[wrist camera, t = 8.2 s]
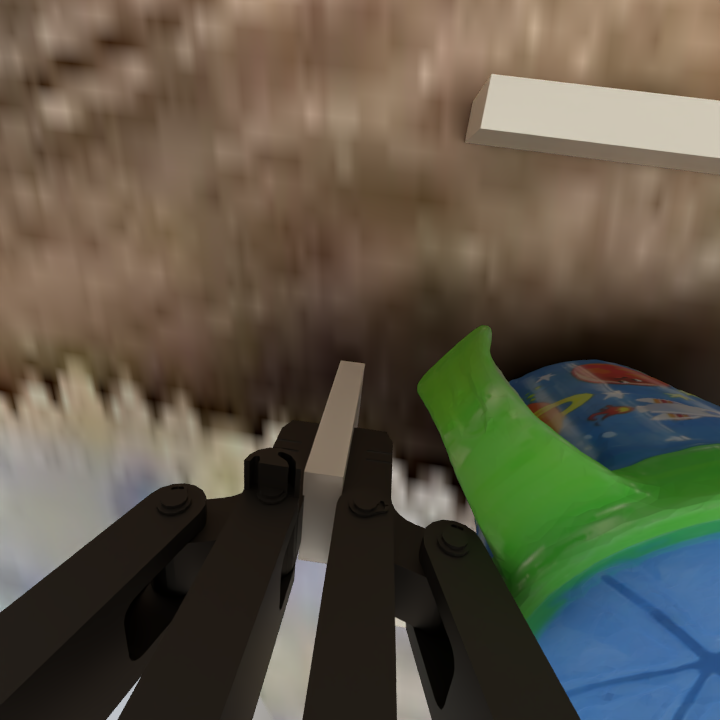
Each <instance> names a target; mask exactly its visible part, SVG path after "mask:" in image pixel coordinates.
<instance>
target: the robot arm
mask: <svg viewBox="0 0 720 720" xmlns="http://www.w3.org/2000/svg"><path fill="white" fill-rule="evenodd" d="M364 368H365V364H364V363H356V362H349V361H340V364H339V367H338V370H337V373H336V376H335V379H334V382H333V385H332V389H331V392H330V395H329V398H328V401H327V404H326V407H325V410H324V413H323V416H322V419H321V422H320V424H317V423H310V422H302V421H295V420H292V421H291V422H290V423H288V424H287V425H286V426H284V427H283V428H282V429H281V431H280V433H279V436H278V438H277V440H276V442H275V444H274V446H273V448H266V449H261V450H258V451H256V452H254V453H251V454H250V455H249V456H248V457H247V458H246V459H245V460H244V491H243V492H242V493H241V494H238V495H235V496H232V497H226V498H217V499H206V496H205V494H204V492H203V490H201V489H200V488H198V487H197V486H195V485H190V484H185V483H184V484H172V485H169V486H165V487H162V488H160V489H158V490H156V491H155V492H153V493H151V494H150V495H149V496H147V497H146V498H145V499H144V500H142V501H141V502H140V503H139V504H137V505H136V506H135V507H133V508H132V509H131V510H130V511H128V512H127V513H126V514H125V515H123V516H122V517H121V518H120V519H118V520H117V521H116V522H114V523H113V524H112V525H111V526H109V527H108V528H107V529H106V530H104V531H103V532H102V533H101V534H99V535H98V536H97V537H95V538H94V539H93V540H92V541H90V542H89V543H88V544H87V545H85V546H84V547H83V548H82V549H80V550H79V551H78V552H76V553H75V554H74V555H73V556H71V557H70V558H69V559H68V560H66V561H65V562H64V563H63V564H61V565H60V566H59V567H58V568H56V569H55V570H54V571H52V572H51V573H50V574H49V575H47V576H46V577H45V578H44V579H42V580H41V581H40V582H39V583H37V584H36V585H35V586H33V587H32V588H31V589H30V590H28V591H27V592H26V593H25V594H23V595H22V596H21V597H20V598H18V599H17V600H16V601H14V602H13V603H12V604H11V605H9V606H8V607H7V608H6V609H4V610H3V611H2V612H1V613H0V720H106V719H107V718H108V717H109V715H110V714H111V713H112V711H113V710H114V709H115V708H116V707H117V706H118V704H119V703H120V702H121V700H122V699H123V698H124V697H125V696H126V694H127V693H128V692H129V691H130V689H131V688H132V687H133V686H134V684H135V683H136V682H137V681H138V679H139V678H140V677H141V678H140V680H139V682H138V684H137V685H136V687H135V689H134V691H133V693H132V695H131V696H130V698H129V700H128V702H127V704H126V706H125V708H124V709H123V711H122V713H121V715H120V716H119V719H118V720H252V718H253V715H254V712H255V709H256V705H257V702H258V699H259V695H260V692H261V689H262V685H263V682H264V679H265V675H266V672H267V669H268V665H269V662H270V659H271V655H272V652H273V648H274V645H275V642H276V638H277V635H278V632H279V628H280V625H281V622H282V618H283V615H284V612H285V608H286V605H287V602H288V598H289V595H290V592H291V588H292V585H293V582H294V575H295V562H296V558H297V555H298V551H299V556H298V559H299V560H305V561H312V562H319V563H325V564H327V568H326V574H325V581H324V587H323V593H322V600H321V606H320V612H319V619H318V625H317V631H316V638H315V644H314V651H313V657H312V663H311V670H310V676H309V682H308V689H307V695H306V701H305V708H304V714H303V720H397V703H396V644H395V617H396V618H398V619H400V620H402V621H404V622H405V623H406V630H407V634H408V637H409V641H410V644H411V648H412V651H413V655H414V658H415V662H416V665H417V669H418V672H419V676H420V679H421V683H422V686H423V690H424V693H425V697H426V700H427V704H428V707H429V711H430V715H431V718H432V720H581V719H580V717H579V715H578V714H577V712H576V710H575V708H574V706H573V705H572V703H571V701H570V699H569V697H568V696H567V694H566V692H565V690H564V688H563V687H562V685H561V683H560V681H559V679H558V677H557V676H556V674H555V672H554V670H553V668H552V667H551V665H550V663H549V661H548V659H547V658H546V656H545V654H544V652H543V650H542V649H541V647H540V645H539V643H538V641H537V640H536V638H535V636H534V634H533V632H532V631H531V629H530V627H529V625H528V623H527V621H526V620H525V618H524V616H523V614H522V612H521V611H520V609H519V607H518V605H517V603H516V602H515V600H514V598H513V596H512V594H511V593H510V591H509V589H508V587H507V585H506V584H505V582H504V580H503V578H502V576H501V575H500V573H499V571H498V569H497V567H496V565H495V564H494V562H493V560H492V558H491V556H490V555H489V553H488V551H487V549H486V547H485V546H484V544H483V542H482V540H481V539H480V538H479V537H478V535H477V534H476V533H475V532H474V531H473V530H471V529H470V528H468V527H467V526H466V525H463V524H461V523H458V522H455V521H449V520H440V521H436V522H432V523H431V524H430V525H429V526H427V527H426V529H425V528H423V527H420V526H418V525H415V524H413V523H411V522H409V521H407V520H406V519H404V518H403V517H402V516H400V515H399V514H398V512H397V511H396V510H395V509H394V506H393V504H392V500H391V482H392V447H393V442H392V440H391V439H390V437H389V436H388V434H387V432H383V431H376V430H369V429H362V428H357V426H358V418H359V410H360V402H361V393H362V385H363V377H364Z"/></svg>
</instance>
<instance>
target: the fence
mask: <svg viewBox="0 0 720 720" xmlns="http://www.w3.org/2000/svg"><path fill="white" fill-rule="evenodd" d="M465 143H471V144H479V145H487V146H495V147H503V148H511V149H519V150H526V151H534V152H542V153H550V154H558V155H566V156H574V157H582V158H590V159H597V160H605V161H613V162H621V163H629V164H637V165H645V166H653V167H661V168H668V169H676V170H684V171H692V172H700V173H708V174H716V175H720V101H717V100H709V99H700V98H692V97H683V96H675V95H666V94H658V93H649V92H641V91H632V90H624V89H615V88H607V87H598V86H590V85H581V84H573V83H564V82H556V81H547V80H538V79H530V78H521V77H513V76H504V75H496V74H491V76H490V77H489V78H488V80H487V81H486V83H485V84H484V86H483V87H482V89H481V90H480V92H479V93H478V94H477V96H476V97H475V99H474V100H473V102H472V108H471V113H470V118H469V123H468V128H467V133H466V139H465ZM395 626H399V627H404V628H406V623H405V622H404V621H402V620H400V619H398V618H396V617H395Z"/></svg>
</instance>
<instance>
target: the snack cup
mask: <svg viewBox="0 0 720 720" xmlns="http://www.w3.org/2000/svg"><path fill="white" fill-rule="evenodd" d="M491 341H492V331H491V328H490V327H489V326H485V325H481V326H479V327H478V328H476V329H475V330H473V331H472V332H471V333H469V334H468V335H467V336H466V337H464V338H463V339H462V340H461V341H459V342H458V343H457V344H456V345H455V346H454V347H453V348H452V349H451V350H450V351H449V352H448V353H446V354H445V355H444V356H443V357H442V358H441V359H440V360H439V361H438V362H437V363H436V364H435V365H434V366H433V367H431V368H430V369H429V370H428V371H427V372H426V374H425V375H424V376H423V377H422V378H421V380H420V381H419V383H418V385H417V393H418V394H419V396H420V397H421V399H422V400H423V402H424V404H425V406H426V407H427V409H428V411H429V413H430V415H431V417H432V419H433V421H434V423H435V425H436V427H437V429H438V430H439V432H440V435H441V438H442V441H443V443H444V445H445V448H446V450H447V452H448V455H449V459H450V462H451V464H452V466H453V468H454V471H455V474H456V477H457V479H458V481H459V483H460V485H461V488H462V490H463V492H464V494H465V497H466V499H467V501H468V503H469V505H470V507H471V509H472V512H473V514H474V517H475V524H476V534H477V535H478V537H479V538H480V539H481V540H482V542H483V544H484V546H485V547H486V549H487V551H488V553H489V555H490V556H491V558H492V560H493V562H494V564H495V565H496V567H497V569H498V571H499V573H500V575H501V576H502V578H503V580H504V582H505V584H506V585H507V587H508V589H509V591H510V593H511V594H512V596H513V598H514V600H515V602H516V603H517V605H518V607H519V609H520V611H521V612H522V614H523V616H524V618H525V620H526V621H527V623H528V625H529V627H530V629H531V631H532V632H533V634H534V636H535V638H536V640H537V641H538V643H539V645H540V647H541V649H542V650H543V652H544V654H545V656H546V658H547V659H548V661H549V663H550V665H551V667H552V668H553V670H554V672H555V674H556V676H557V677H558V679H559V681H560V683H561V685H562V687H563V688H564V690H565V692H566V694H567V696H568V697H569V699H570V701H571V703H572V705H573V706H574V708H575V710H576V712H577V714H578V715H579V717H580V719H581V720H720V406H717V405H715V404H712V403H710V402H708V401H705V400H703V399H701V398H699V397H697V396H695V395H692V394H689V393H686V392H684V391H682V390H678V389H676V388H674V387H672V386H671V385H669V384H667V383H664V382H662V381H660V380H658V379H655V378H653V377H650V376H648V375H647V374H645V373H642V372H640V371H638V370H635V369H632V368H630V367H627V366H624V365H619V364H616V363H611V362H606V361H602V360H596V359H594V360H593V359H591V360H576V361H568V362H561V363H557V364H553V365H549V366H545V367H543V368H540V369H538V370H535V371H533V372H530V373H528V374H526V375H524V376H522V377H521V378H518V379H515V380H511V381H510V382H508V381H507V380H506V379H505V377H504V375H503V374H502V371H501V370H499V368H498V367H497V366H496V365H495V362H494V361H493V359H492V357H491V354H490V347H491Z"/></svg>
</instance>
